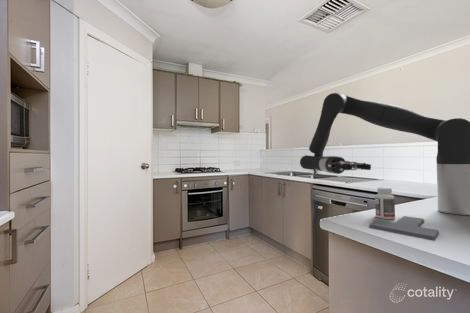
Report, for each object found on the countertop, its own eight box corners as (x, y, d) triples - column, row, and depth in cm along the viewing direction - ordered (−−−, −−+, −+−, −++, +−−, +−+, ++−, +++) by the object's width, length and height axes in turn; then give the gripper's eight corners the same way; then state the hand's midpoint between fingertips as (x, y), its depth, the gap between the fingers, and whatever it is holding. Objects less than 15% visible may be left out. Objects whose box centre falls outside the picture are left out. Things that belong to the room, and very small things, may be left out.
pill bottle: (396, 217, 73) (396, 188, 73) (393, 220, 69) (392, 189, 70) (377, 214, 77) (377, 186, 77) (373, 217, 73) (372, 188, 73)
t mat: (387, 215, 75) (387, 213, 75) (443, 224, 65) (443, 221, 65) (369, 227, 63) (369, 224, 63) (434, 239, 53) (434, 236, 53)
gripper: (318, 156, 97) (345, 157, 81) (345, 156, 100) (376, 157, 85) (317, 173, 97) (344, 177, 81) (345, 172, 100) (375, 176, 85)
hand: (360, 167), depth 83 cm, fingers open, 8 cm apart
